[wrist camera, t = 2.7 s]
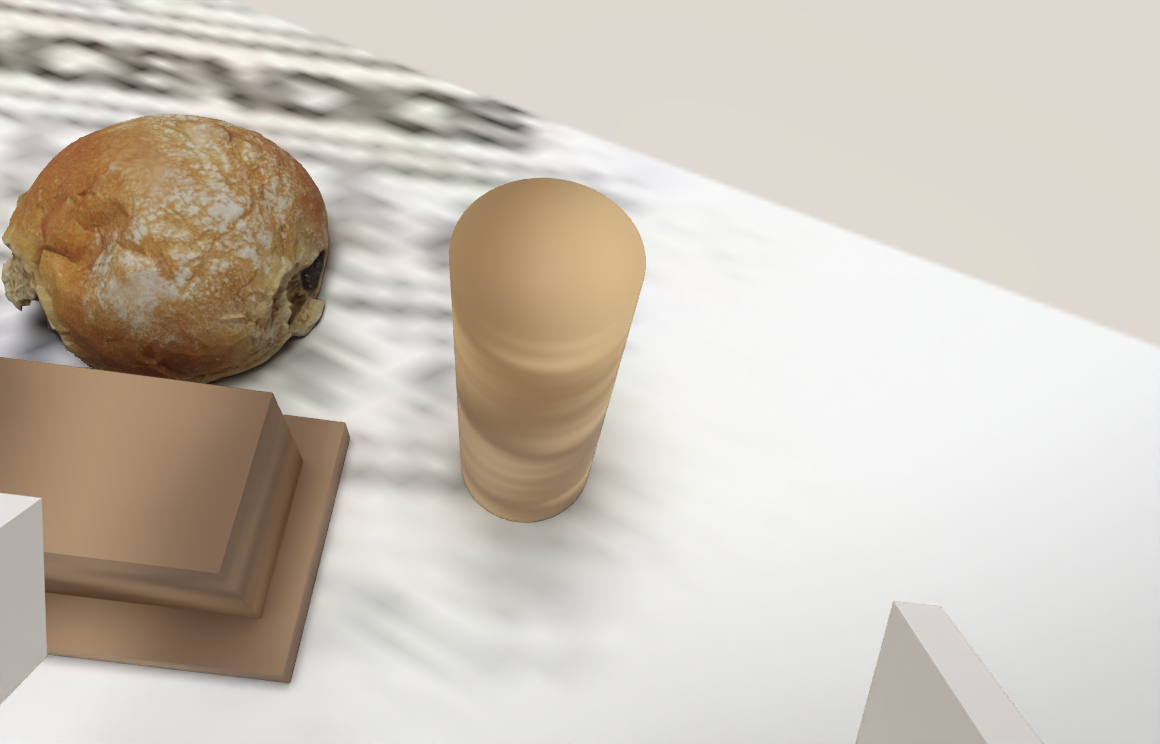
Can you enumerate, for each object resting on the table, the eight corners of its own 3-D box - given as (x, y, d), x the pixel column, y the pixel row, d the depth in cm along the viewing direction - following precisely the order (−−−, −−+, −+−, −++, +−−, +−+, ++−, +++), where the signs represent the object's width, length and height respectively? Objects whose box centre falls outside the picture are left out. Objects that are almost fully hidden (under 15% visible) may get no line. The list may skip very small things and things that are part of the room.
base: (349, 437, 30) (322, 350, 25) (290, 682, 26) (242, 640, 21) (-133, 375, 29) (-266, 271, 24) (-267, 617, 26) (-459, 556, 20)
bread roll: (267, 450, 34) (330, 369, 27) (-48, 370, 29) (-56, 251, 23) (320, 239, 38) (385, 129, 32) (57, 143, 34) (73, -6, 28)
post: (594, 411, 32) (651, 192, 21) (583, 529, 29) (639, 352, 19) (471, 395, 31) (466, 166, 21) (451, 513, 29) (432, 325, 19)
